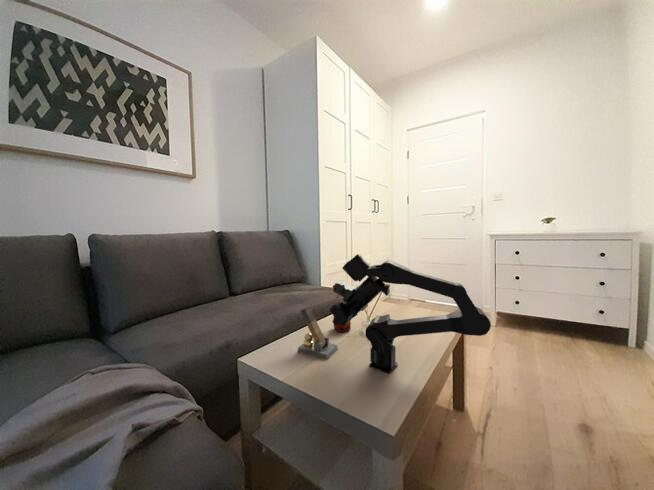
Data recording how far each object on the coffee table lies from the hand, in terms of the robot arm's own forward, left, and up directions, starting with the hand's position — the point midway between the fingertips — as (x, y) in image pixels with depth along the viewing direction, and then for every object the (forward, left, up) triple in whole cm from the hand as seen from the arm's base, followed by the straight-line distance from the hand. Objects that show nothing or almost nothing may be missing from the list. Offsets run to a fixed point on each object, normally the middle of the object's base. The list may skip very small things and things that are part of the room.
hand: (333, 322), depth 82 cm
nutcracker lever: (+5, +1, -8) cm, 9 cm away
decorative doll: (+10, -19, -11) cm, 24 cm away
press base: (+6, +1, -11) cm, 12 cm away
